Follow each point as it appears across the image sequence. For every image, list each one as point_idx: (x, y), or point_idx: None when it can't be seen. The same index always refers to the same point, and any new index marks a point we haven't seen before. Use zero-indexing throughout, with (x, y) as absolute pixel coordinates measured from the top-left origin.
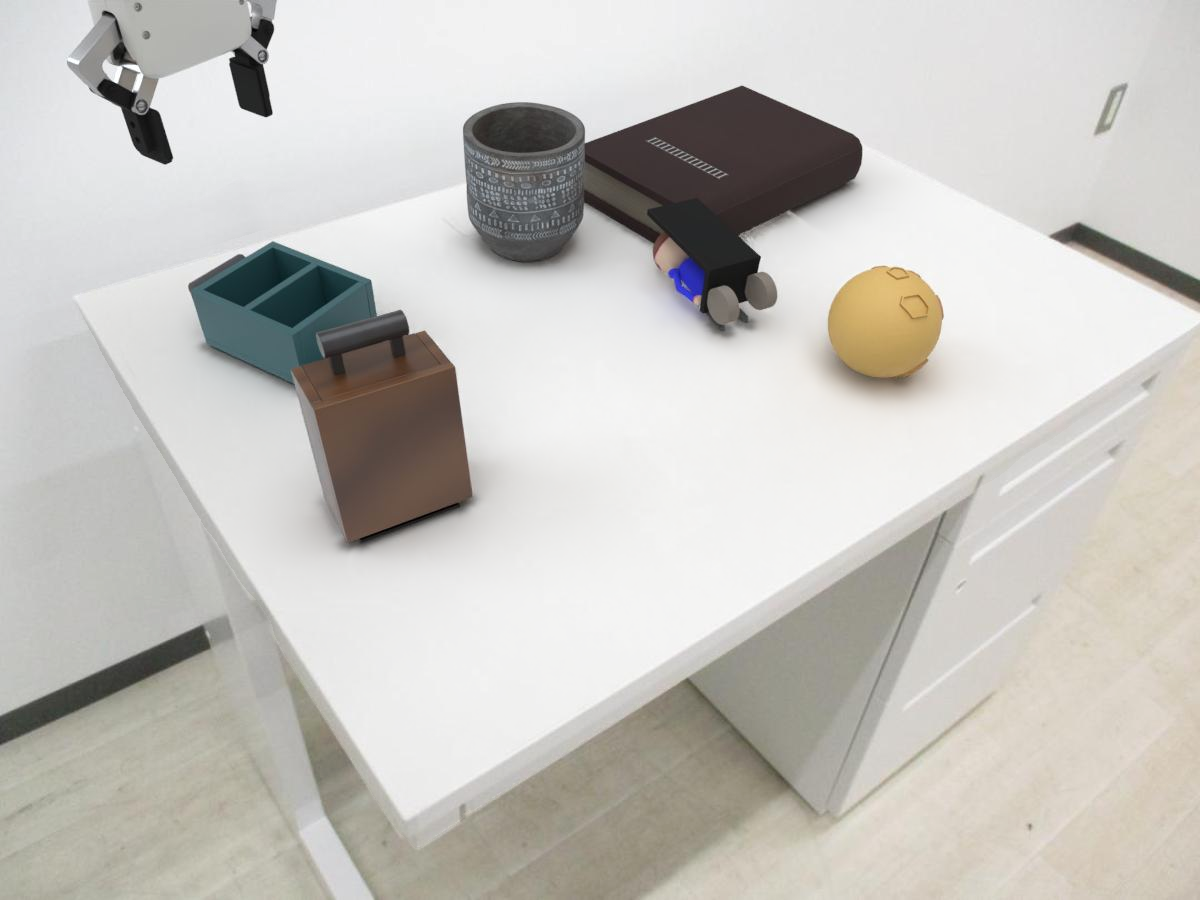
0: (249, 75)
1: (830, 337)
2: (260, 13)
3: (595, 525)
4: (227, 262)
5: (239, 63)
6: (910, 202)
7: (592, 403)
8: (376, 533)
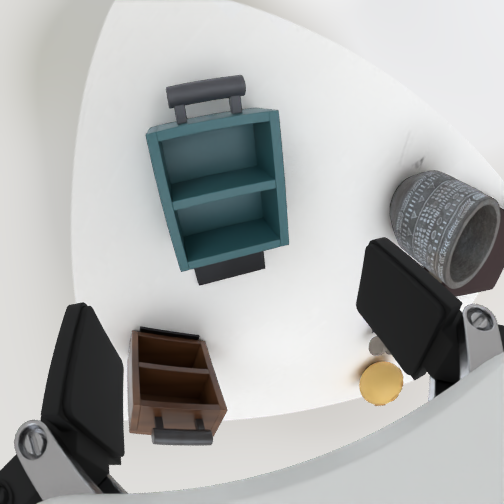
0: (407, 352)
1: (370, 375)
2: None
3: (226, 389)
4: (222, 87)
5: (435, 335)
6: (467, 299)
7: (293, 342)
8: None
